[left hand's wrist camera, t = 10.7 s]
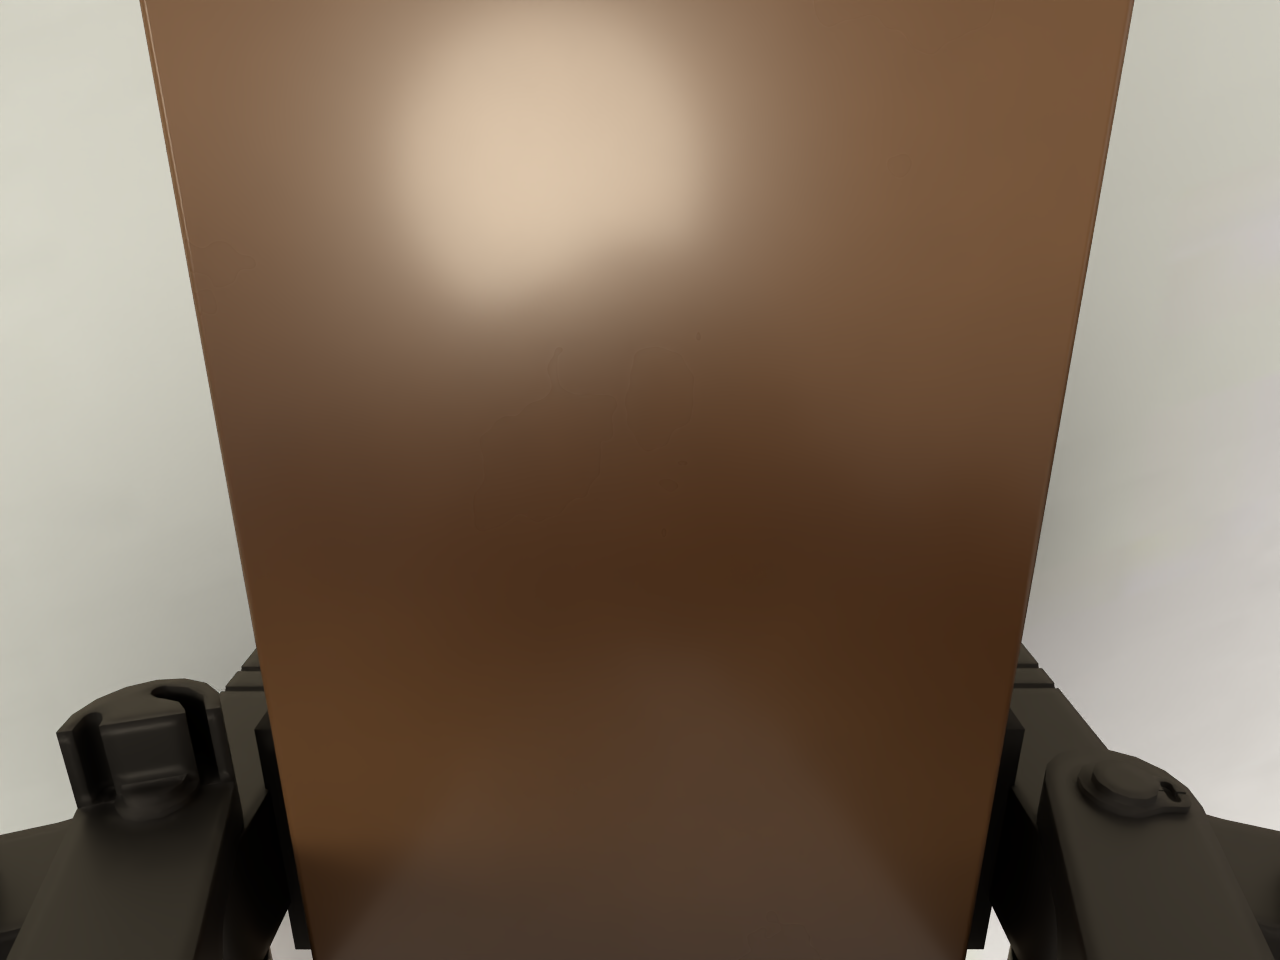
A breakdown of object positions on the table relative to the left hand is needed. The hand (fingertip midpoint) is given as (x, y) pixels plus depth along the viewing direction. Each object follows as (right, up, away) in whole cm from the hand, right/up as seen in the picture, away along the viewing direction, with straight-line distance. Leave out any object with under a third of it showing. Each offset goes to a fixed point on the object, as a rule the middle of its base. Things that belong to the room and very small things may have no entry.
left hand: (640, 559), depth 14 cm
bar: (0, +30, -10) cm, 31 cm away
